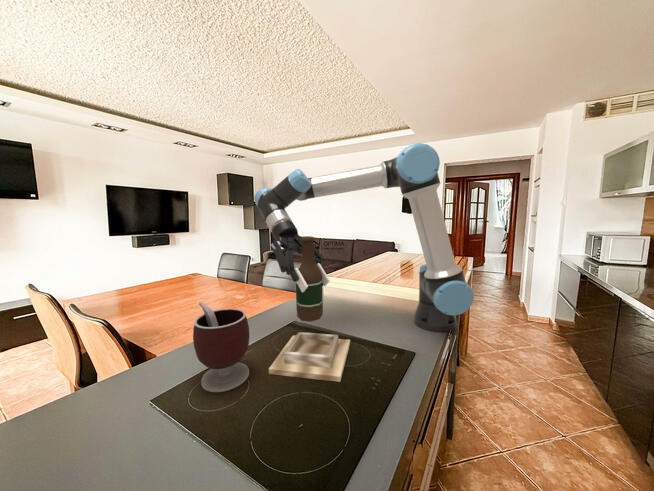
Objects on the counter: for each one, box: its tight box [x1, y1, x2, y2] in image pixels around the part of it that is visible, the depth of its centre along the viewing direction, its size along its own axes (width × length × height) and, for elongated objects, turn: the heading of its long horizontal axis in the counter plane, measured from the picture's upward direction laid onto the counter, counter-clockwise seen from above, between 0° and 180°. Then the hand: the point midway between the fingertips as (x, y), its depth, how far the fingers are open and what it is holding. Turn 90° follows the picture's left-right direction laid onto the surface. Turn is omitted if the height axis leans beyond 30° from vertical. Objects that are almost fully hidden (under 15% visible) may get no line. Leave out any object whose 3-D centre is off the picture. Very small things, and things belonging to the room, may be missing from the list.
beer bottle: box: [295, 235, 324, 323], centre depth 78 cm, size 8×8×24 cm
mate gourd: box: [192, 301, 250, 393], centre depth 72 cm, size 16×14×20 cm
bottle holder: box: [268, 331, 351, 383], centre depth 81 cm, size 20×20×4 cm
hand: (316, 286), depth 76 cm, fingers closed on beer bottle, 7 cm apart
